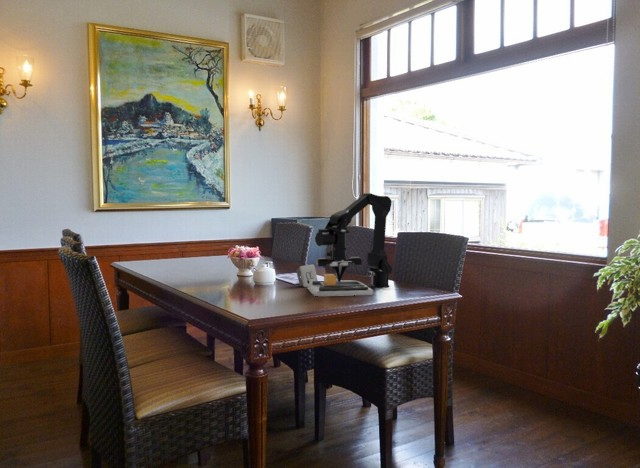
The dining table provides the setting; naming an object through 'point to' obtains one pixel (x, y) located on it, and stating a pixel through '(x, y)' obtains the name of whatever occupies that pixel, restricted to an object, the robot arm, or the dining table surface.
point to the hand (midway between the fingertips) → (339, 281)
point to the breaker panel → (339, 288)
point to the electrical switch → (306, 275)
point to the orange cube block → (329, 279)
